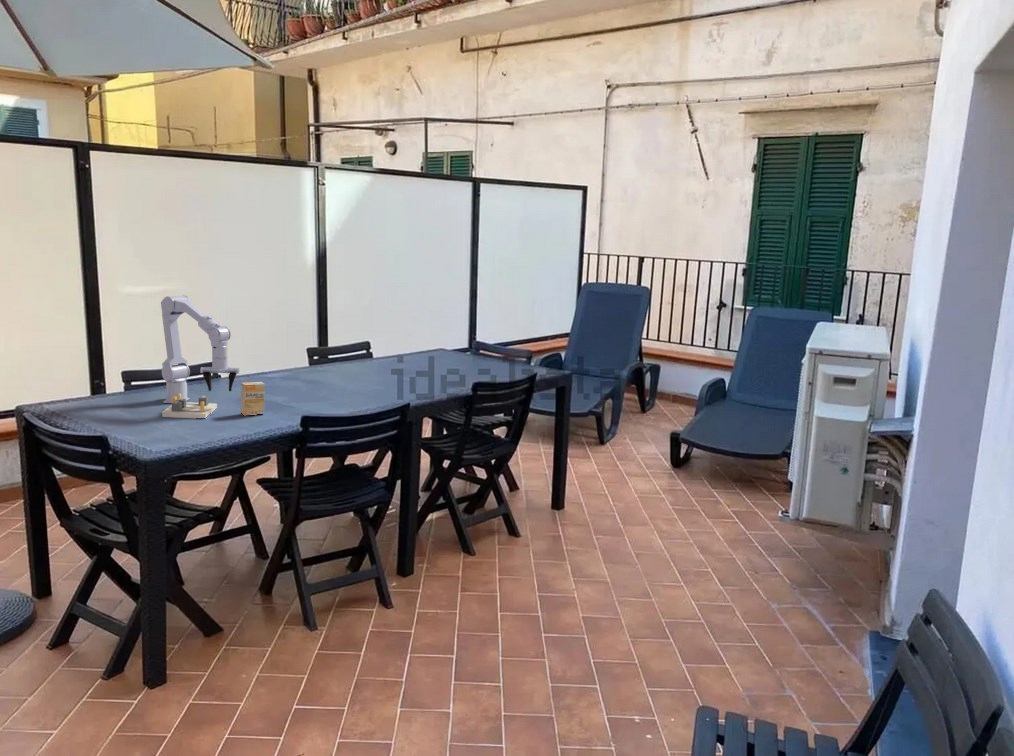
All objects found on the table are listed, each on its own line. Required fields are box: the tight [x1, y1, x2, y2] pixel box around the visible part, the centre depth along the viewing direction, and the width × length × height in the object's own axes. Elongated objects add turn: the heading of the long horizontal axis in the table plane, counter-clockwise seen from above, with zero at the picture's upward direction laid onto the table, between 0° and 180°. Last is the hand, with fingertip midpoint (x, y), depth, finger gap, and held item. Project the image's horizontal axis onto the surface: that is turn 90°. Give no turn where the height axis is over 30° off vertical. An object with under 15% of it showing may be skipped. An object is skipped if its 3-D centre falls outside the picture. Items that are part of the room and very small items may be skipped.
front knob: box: [171, 401, 182, 411], centre depth 292 cm, size 3×3×3 cm
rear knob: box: [198, 395, 209, 406], centre depth 303 cm, size 3×3×3 cm
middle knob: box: [176, 398, 187, 408], centre depth 297 cm, size 3×3×3 cm
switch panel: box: [161, 394, 218, 419], centre depth 298 cm, size 17×16×6 cm
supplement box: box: [239, 381, 266, 416], centre depth 301 cm, size 8×5×13 cm, turn 126°
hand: (220, 390), depth 302 cm, fingers open, 7 cm apart
